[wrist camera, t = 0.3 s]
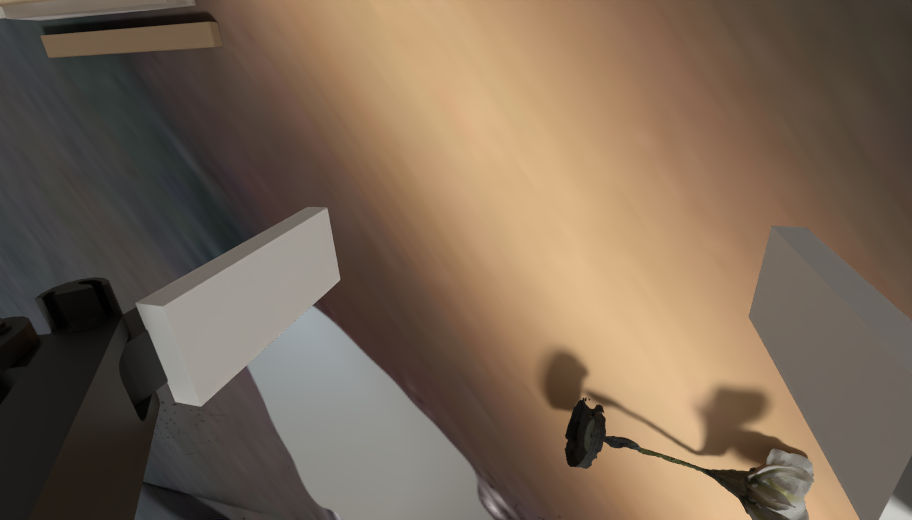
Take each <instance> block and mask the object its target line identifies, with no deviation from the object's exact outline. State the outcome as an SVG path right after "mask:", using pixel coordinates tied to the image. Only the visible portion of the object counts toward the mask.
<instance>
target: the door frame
mask: <svg viewBox="0 0 912 520" xmlns="http://www.w3.org/2000/svg"><path fill="white" fill-rule="evenodd" d="M0 18H6V16H5V13H4V11H3V8H2V7H0ZM41 38H42V41H43V44H44V46H45V49H46V51H47V54H48V57H71V56H86V55H102V54H117V53H133V52H148V51H164V50H179V49H195V48H210V47H223V44H222V40H221V36H220V32H219V27H218V23H217V22H199V23H187V24H175V25H163V26H151V27H140V28H128V29H116V30H104V31H92V32H80V33H68V34H56V35H44V36H41Z"/></svg>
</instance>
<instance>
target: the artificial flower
mask: <svg viewBox="0 0 912 520" xmlns="http://www.w3.org/2000/svg"><path fill="white" fill-rule="evenodd" d="M589 400H590V399H589ZM585 401H586V398H585ZM585 401H584V398H583V400H580V401H578V403H577V404H576V406H575V407H574V409H573V412H572V416H571V419H570V422H569V424H568V427H567V428H568V429H567V431H566V432H567V433H566V435H565V437H566V439H568V442H567V443H566V448H565V453H566V457H567V458H566V460H567V463H568V465H569V466H570V467H582V468H586V469H587V468H589V467H590V466H591V465H592V464H591V463H592V460H594V459H595V458H597V453H598V452H600V451H601V449H602V446H603V441H604V442H605V443H607V444H608V445H609V446H610V447H613V448H622V447H628V448H630V449H634V450H638V451H639V452H640V453H642V454H646V455H651V456H656V457H662V458H663V459H665V460H667V461H670V462H672V463H677V464H682V465H684V466H687V467H690V468H694V469H696V470H698V471H701V472H703V473H705V474H706V475H708V476H710V477H712V478H713V479H715V480H716V481H717V482H718V483H719V484H720V485H722V486H723V487H725V488H726V489H727V490H728V491H729V492H731V493H732V494H734V495H735V496H736V497H737V498H738V499H739V500H740V502H741V503H742V505H743V507H744V509H745V511H746V513H747V514H749V515H750V516H751V518H752V520H809V517H808V512H807V510H806V506H805V500H804V497H805V495H806V494H807V492H808V491H809V490H810V488H811V485H812V483H813V482H814V478H813V475H814V474H813V465H812V463H811V462H810V461H809V460H808V459H807V458H806V457H804V456H802V455H799V454H794V453H787V452H785V451H782V450H779V449H772V450H771V451H770V454H769V456H768V457H767V458H766V459H767V461H766V464H765V465H763V466H760V467H757V468H750V471H736V470H733V469H730V470H715V469H713V470H709V469H704V468H701V467H698V466H696V465H692V464H690V463H687V462H685V461H681V460H678V459H675V458H673V457H670V456H666V455H663V454H660V453H657V452H653V451H650V450H647V449H643V448H641V447H640V446H639V445H638V444H637V443H635V442H634V441H632V440H630V439H627V438H624V437H615V436H612V437H611V436H605V435H606V429H605V421H606V419H605V417H604V416H603V414H602V412H603V413H604V410H603V406H602V405H596V407H595V408H594V409H590V408H589V407H588V406H587V405H586V404H585ZM620 451H621V450H620Z"/></svg>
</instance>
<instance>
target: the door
mask: <svg viewBox="0 0 912 520" xmlns="http://www.w3.org/2000/svg"><path fill="white" fill-rule="evenodd" d="M186 6H196V4H195V0H0V7H2V8H3V11H4V13H5V16H6V18H7V19H23V20H51V19H62V18H72V17H82V16H93V15H103V14H113V13H124V12H134V11H144V10H155V9H165V8H176V7H186Z"/></svg>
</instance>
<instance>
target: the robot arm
mask: <svg viewBox="0 0 912 520" xmlns="http://www.w3.org/2000/svg"><path fill="white" fill-rule="evenodd" d="M339 281H340V275H339V270H338V264H337V259H336V253H335V248H334V242H333V237H332V231H331V226H330V220H329V215H328V210H327V208H320V207H307V208H305V209H303V210H301V211H300V212H298V213H296V214H294V215H292V216H291V217H289V218H287V219H285V220H283V221H282V222H280V223H278V224H276V225H274V226H273V227H271V228H269V229H267V230H266V231H264V232H262V233H260V234H258V235H257V236H255V237H253V238H251V239H249V240H248V241H246V242H244V243H242V244H240V245H239V246H237V247H235V248H233V249H231V250H230V251H228V252H226V253H224V254H222V255H221V256H219V257H217V258H215V259H214V260H212V261H210V262H208V263H206V264H205V265H203V266H201V267H199V268H197V269H196V270H194V271H192V272H190V273H188V274H187V275H185V276H183V277H181V278H179V279H178V280H176V281H174V282H172V283H171V284H169V285H167V286H165V287H163V288H162V289H160V290H158V291H156V292H154V293H153V294H151V295H149V296H147V297H145V298H144V299H142V300H140V301H138V302H136V303H135V304H136V306H137V307H136V308H134V309H132V310H131V311H129V312H127V313H125V314H123V313H122V311H121V308H120V306H119V304H118V301H117V299H116V297H115V294H114V292H113V290H112V287H111V285H110V283H109V280H107V279H105V278H87V279H80V280H76V281H72V282H68V283H65V284H62V285H60V286H57V287H54V288H52V289H50V290H48V291H46V292H44V293H42V294H40V295H39V296H38V297H37V298H35V301H36V303H37V304H38V306H39V308H40V310H41V312H42V314H43V316H44V318H45V320H46V322H47V324H48V326H49V328H50V330H51V333H50V334H45V335H37V333H36V331H35V329H34V327H33V326H32V324H31V322H30V320H29V318H26V317H23V316H22V317H9V318H4V319H2V318H0V520H134V518H135V513H136V509H137V504H138V500H139V495H140V491H141V487H142V482H143V478H144V473H145V469H146V465H147V460H148V456H149V451H150V447H151V442H152V438H153V434H154V429H155V425H156V420H157V416H158V411H159V407H160V401H159V398H158V395H157V393H156V390H157V389H159V388H160V387H161V386H162V385H164V384H165V383H166V382H168V385H169V387H170V389H171V392H172V394H173V397H174V399H175V402H179V403H185V404H190V405H195V406H200V407H201V406H202V405H203V404H204V403H206V402H207V401H208V400H209V399H210V398H211V397H212V396H213V395H214V394H215V393H217V392H218V391H219V390H220V389H221V388H222V387H223V386H224V385H225V384H226V383H228V382H229V381H230V380H231V379H232V378H233V377H234V376H235V375H236V374H237V373H239V372H240V371H241V370H242V369H243V368H244V367H245V366H246V365H247V364H248V363H250V362H251V361H252V360H253V359H254V358H255V357H256V356H257V355H258V354H259V353H260V352H262V351H263V350H264V349H265V348H266V347H267V346H268V345H269V344H270V343H271V342H273V341H274V340H275V339H276V338H277V337H278V336H279V335H280V334H281V333H282V332H284V331H285V330H286V329H287V328H288V327H289V326H290V325H291V324H292V323H293V322H294V321H296V320H297V319H298V318H299V317H300V316H301V315H302V314H303V313H304V312H306V311H307V310H308V309H309V308H310V307H311V306H312V305H313V304H314V303H315V302H317V301H318V300H319V299H320V298H321V297H322V296H323V295H324V294H325V293H326V292H328V291H329V290H330V289H331V288H332V287H333V286H334V285H335V284H336V283H337V282H339ZM749 318H750V320H751V322H752V323H753V325H754V327H755V329H756V331H757V333H758V334H759V336H760V338H761V340H762V342H763V343H764V345H765V347H766V349H767V351H768V353H769V354H770V356H771V358H772V360H773V362H774V364H775V365H776V367H777V369H778V371H779V373H780V374H781V376H782V378H783V380H784V382H785V384H786V385H787V387H788V389H789V391H790V393H791V395H792V396H793V398H794V400H795V402H796V404H797V405H798V407H799V409H800V411H801V413H802V415H803V416H804V418H805V420H806V422H807V424H808V426H809V427H810V429H811V431H812V433H813V435H814V436H815V438H816V440H817V442H818V444H819V446H820V447H821V449H822V451H823V453H824V455H825V457H826V458H827V460H828V462H829V464H830V466H831V467H832V469H833V471H834V473H835V475H836V477H837V478H838V480H839V482H840V484H841V486H842V488H843V489H844V491H845V493H846V495H847V497H848V498H849V500H850V502H851V504H852V506H853V508H854V509H855V511H856V513H857V515H858V517H859V518H860V520H912V321H911V320H910V319H909V318H908V317H907V316H906V315H905V314H904V313H902V312H901V311H900V310H899V309H898V308H897V307H896V306H895V305H893V304H892V303H891V302H890V301H889V300H888V299H887V298H885V297H884V296H883V295H882V294H881V293H880V292H879V291H878V290H876V289H875V288H874V287H873V286H872V285H871V284H870V283H869V282H867V281H866V280H865V279H864V278H863V277H862V276H861V275H859V274H858V273H857V272H856V271H855V270H854V269H853V268H852V267H850V266H849V265H848V264H847V263H846V262H845V261H844V260H843V259H841V258H840V257H839V256H838V255H837V254H836V253H835V252H834V251H832V250H831V249H830V248H829V247H828V246H827V245H826V244H824V243H823V242H822V241H821V240H820V239H819V238H818V237H817V236H815V235H814V234H813V233H812V232H811V231H810V230H809V229H808V228H806V227H785V226H772V227H771V231H770V235H769V239H768V243H767V246H766V250H765V254H764V258H763V262H762V266H761V270H760V274H759V278H758V282H757V286H756V290H755V294H754V298H753V302H752V305H751V309H750V313H749Z"/></svg>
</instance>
